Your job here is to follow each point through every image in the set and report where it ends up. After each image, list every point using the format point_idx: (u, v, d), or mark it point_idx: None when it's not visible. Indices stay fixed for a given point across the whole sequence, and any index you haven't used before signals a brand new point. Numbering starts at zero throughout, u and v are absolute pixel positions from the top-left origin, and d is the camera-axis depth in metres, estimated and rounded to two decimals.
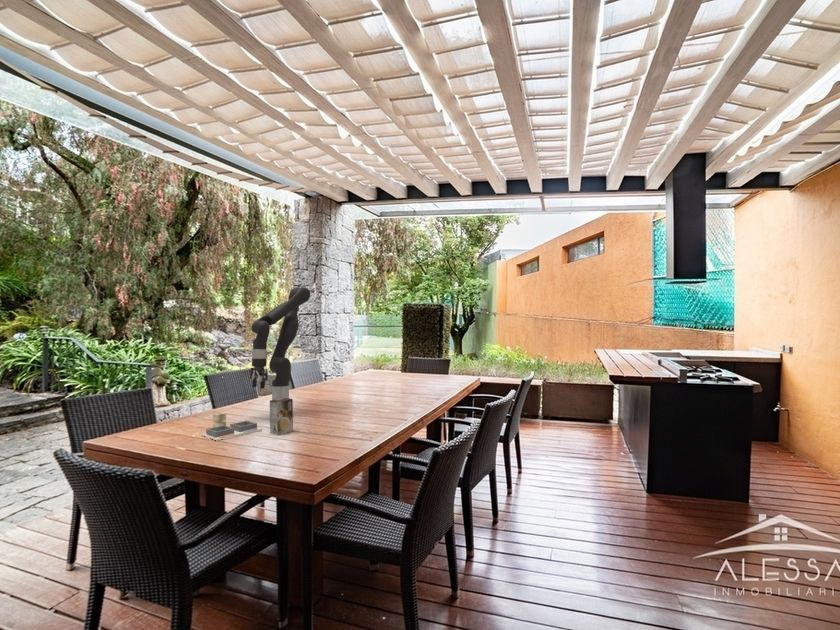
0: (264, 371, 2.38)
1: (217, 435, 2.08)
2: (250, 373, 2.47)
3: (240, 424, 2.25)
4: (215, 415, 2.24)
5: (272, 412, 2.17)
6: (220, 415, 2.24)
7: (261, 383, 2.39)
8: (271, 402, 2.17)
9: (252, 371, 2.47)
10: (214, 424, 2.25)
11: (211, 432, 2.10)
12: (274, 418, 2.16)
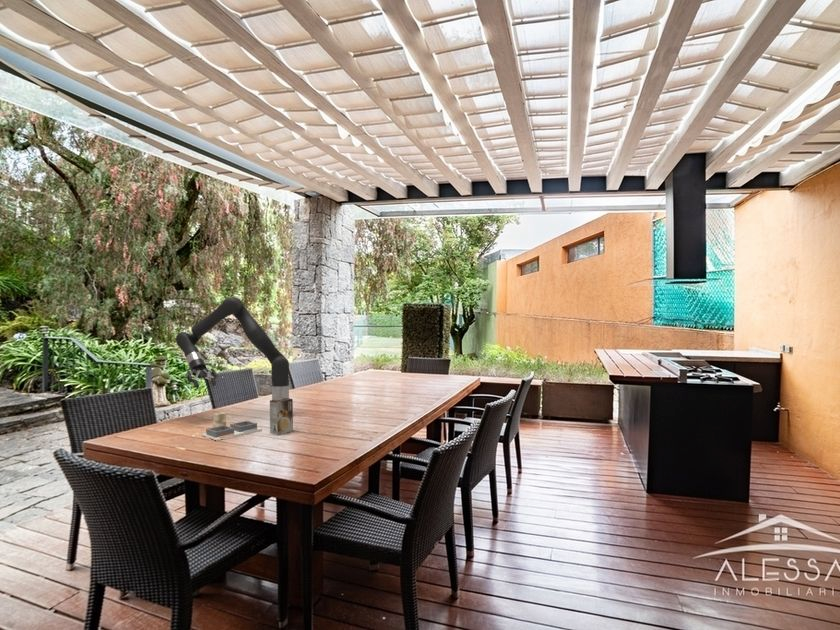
0: (186, 374, 2.33)
1: (217, 435, 2.08)
2: (213, 375, 2.43)
3: (240, 424, 2.25)
4: (215, 415, 2.24)
5: (272, 412, 2.17)
6: (220, 415, 2.24)
7: None
8: (271, 402, 2.17)
9: (211, 373, 2.42)
10: (214, 424, 2.25)
11: (211, 432, 2.10)
12: (274, 418, 2.16)
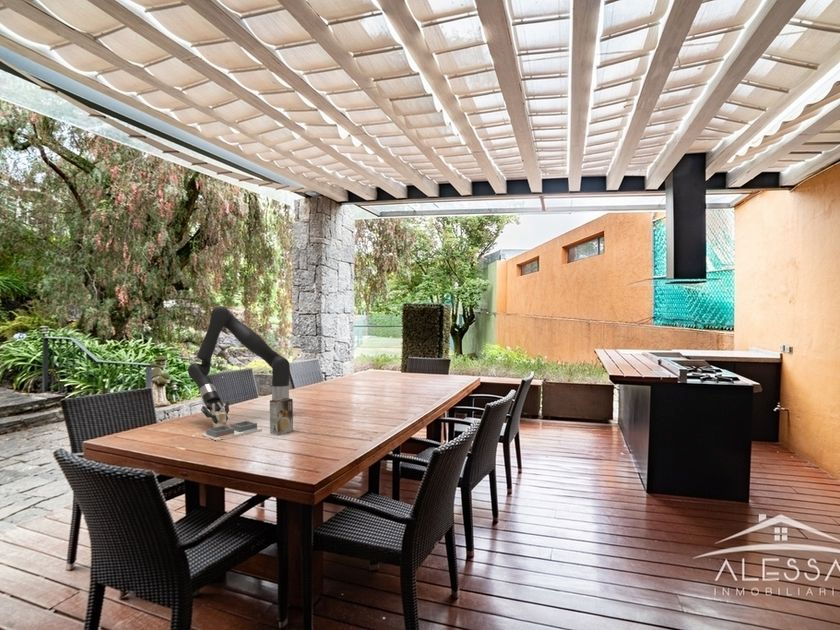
0: (202, 410, 2.23)
1: (217, 435, 2.08)
2: None
3: (240, 424, 2.25)
4: None
5: (272, 412, 2.17)
6: (220, 415, 2.24)
7: None
8: (271, 402, 2.17)
9: (225, 407, 2.32)
10: (214, 424, 2.25)
11: (211, 432, 2.10)
12: (274, 418, 2.16)
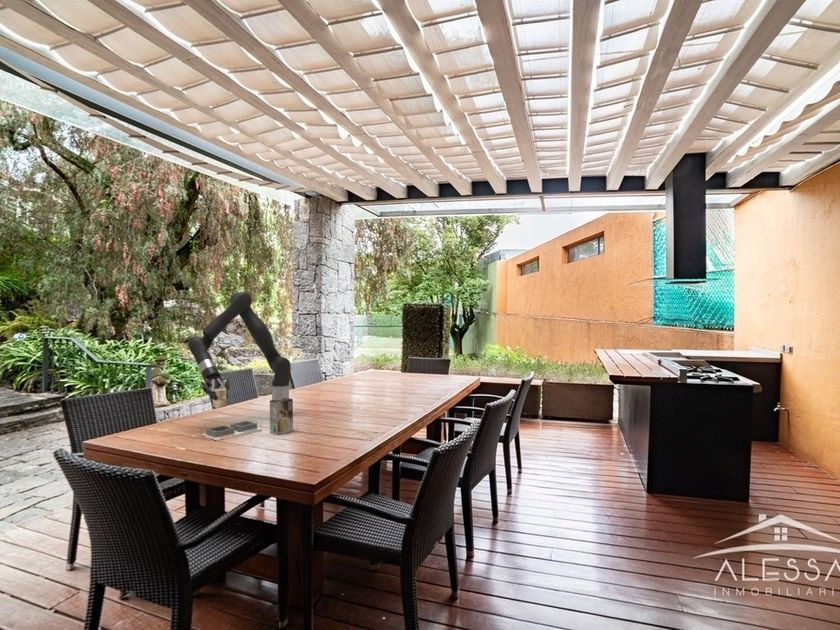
0: (201, 386, 2.11)
1: (217, 435, 2.08)
2: None
3: (240, 424, 2.25)
4: (215, 391, 2.12)
5: (272, 412, 2.17)
6: (220, 391, 2.12)
7: None
8: (271, 402, 2.17)
9: (225, 384, 2.20)
10: (213, 401, 2.12)
11: (211, 432, 2.10)
12: (274, 418, 2.16)
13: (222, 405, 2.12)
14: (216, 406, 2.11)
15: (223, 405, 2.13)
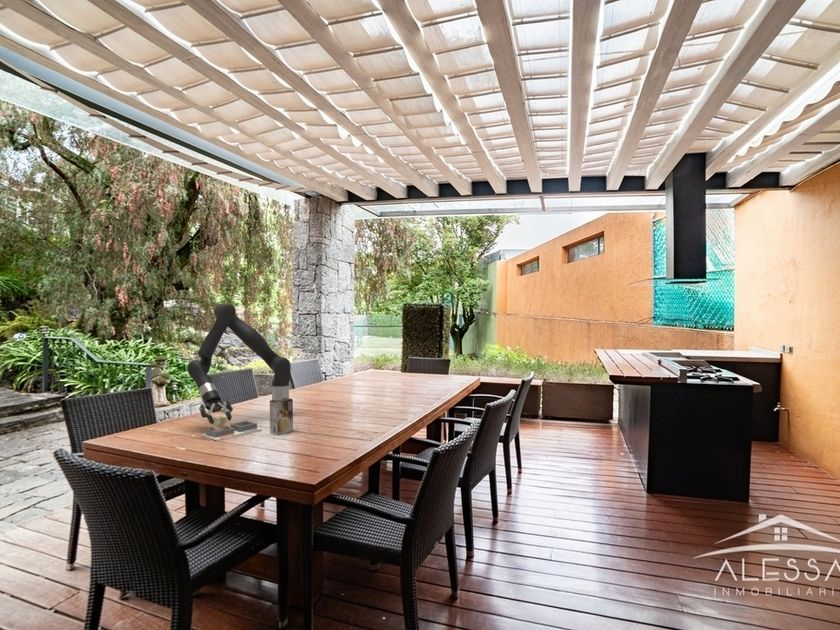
0: (199, 408, 2.11)
1: (217, 435, 2.08)
2: None
3: (240, 424, 2.25)
4: (216, 419, 2.12)
5: (272, 412, 2.17)
6: (221, 419, 2.12)
7: None
8: (271, 402, 2.17)
9: (226, 406, 2.21)
10: (214, 428, 2.13)
11: (211, 432, 2.10)
12: (274, 418, 2.16)
13: None
14: None
15: None
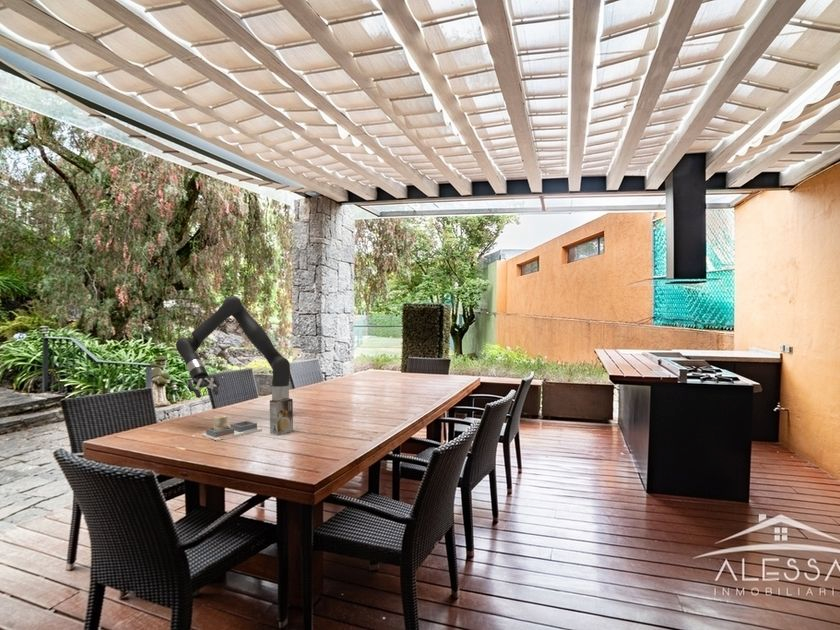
0: (187, 383, 2.20)
1: (217, 435, 2.08)
2: None
3: (240, 424, 2.25)
4: (216, 419, 2.12)
5: (272, 412, 2.17)
6: (221, 419, 2.12)
7: None
8: (271, 402, 2.17)
9: (213, 381, 2.30)
10: (214, 428, 2.13)
11: (211, 432, 2.10)
12: (274, 418, 2.16)
13: None
14: None
15: None
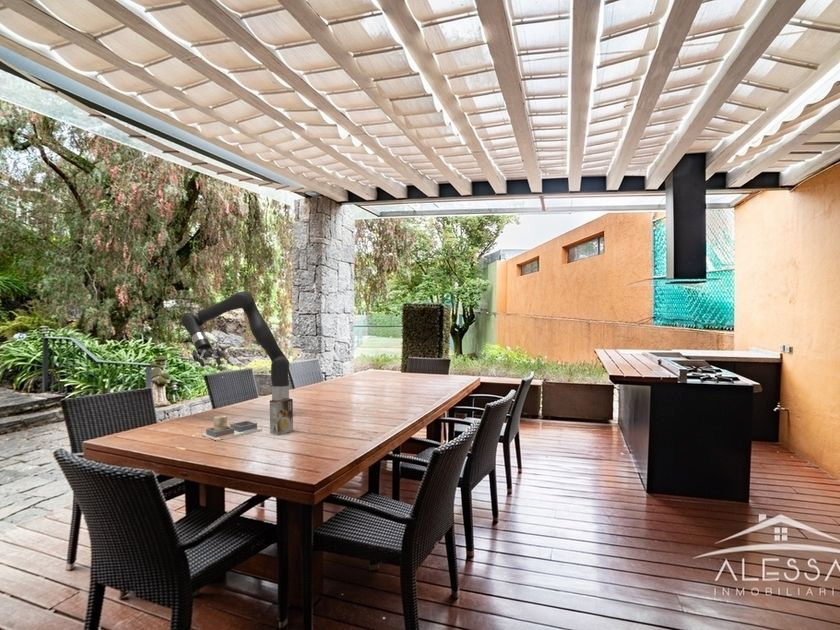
0: (192, 353, 2.37)
1: (217, 435, 2.08)
2: (218, 355, 2.47)
3: (240, 424, 2.25)
4: (216, 419, 2.12)
5: (272, 412, 2.17)
6: (221, 419, 2.12)
7: None
8: (271, 402, 2.17)
9: (216, 353, 2.47)
10: (214, 428, 2.13)
11: (211, 432, 2.10)
12: (274, 418, 2.16)
13: None
14: None
15: None
